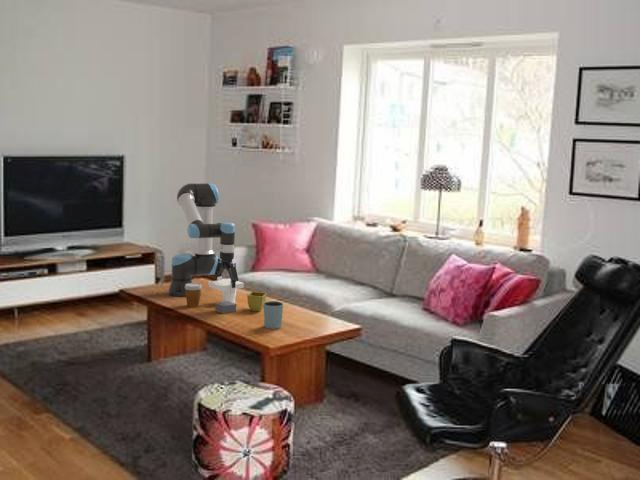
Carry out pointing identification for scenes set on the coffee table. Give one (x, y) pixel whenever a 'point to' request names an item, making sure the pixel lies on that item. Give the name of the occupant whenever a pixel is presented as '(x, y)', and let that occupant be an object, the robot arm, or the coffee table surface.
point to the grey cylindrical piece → (273, 314)
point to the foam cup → (228, 295)
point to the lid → (224, 284)
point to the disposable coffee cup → (193, 294)
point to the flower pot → (256, 300)
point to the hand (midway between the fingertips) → (225, 291)
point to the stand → (225, 307)
